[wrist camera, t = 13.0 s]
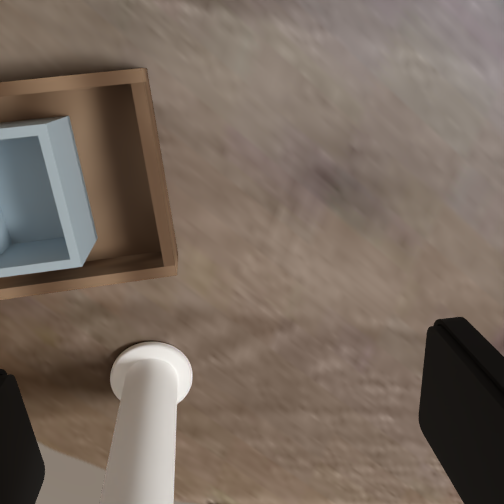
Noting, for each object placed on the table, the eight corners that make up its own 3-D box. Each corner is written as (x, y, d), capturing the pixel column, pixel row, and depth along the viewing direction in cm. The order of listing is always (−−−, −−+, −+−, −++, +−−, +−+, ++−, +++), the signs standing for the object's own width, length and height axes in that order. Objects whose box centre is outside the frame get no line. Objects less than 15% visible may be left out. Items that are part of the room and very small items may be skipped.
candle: (95, 360, 39) (-36, 769, 16) (170, 327, 39) (144, 695, 16) (135, 418, 42) (71, 838, 19) (205, 387, 42) (226, 775, 19)
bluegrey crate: (69, 115, 31) (45, 123, 26) (97, 238, 35) (82, 266, 30) (-30, 125, 31) (-73, 136, 26) (9, 249, 34) (-23, 280, 29)
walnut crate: (146, 68, 32) (141, 68, 28) (178, 254, 37) (177, 275, 33) (-129, 96, 30) (-174, 99, 26) (-55, 286, 35) (-84, 311, 32)
